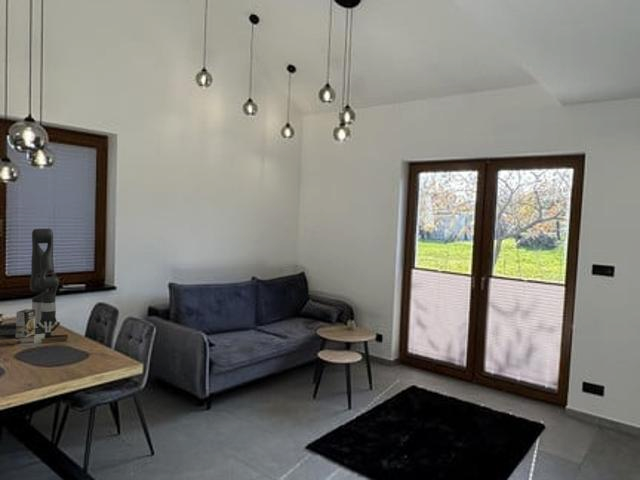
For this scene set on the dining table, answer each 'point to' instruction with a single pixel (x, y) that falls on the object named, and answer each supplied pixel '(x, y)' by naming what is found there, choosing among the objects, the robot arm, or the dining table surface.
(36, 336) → the pale block
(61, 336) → the chute
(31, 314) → the coffee box
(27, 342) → the pad
